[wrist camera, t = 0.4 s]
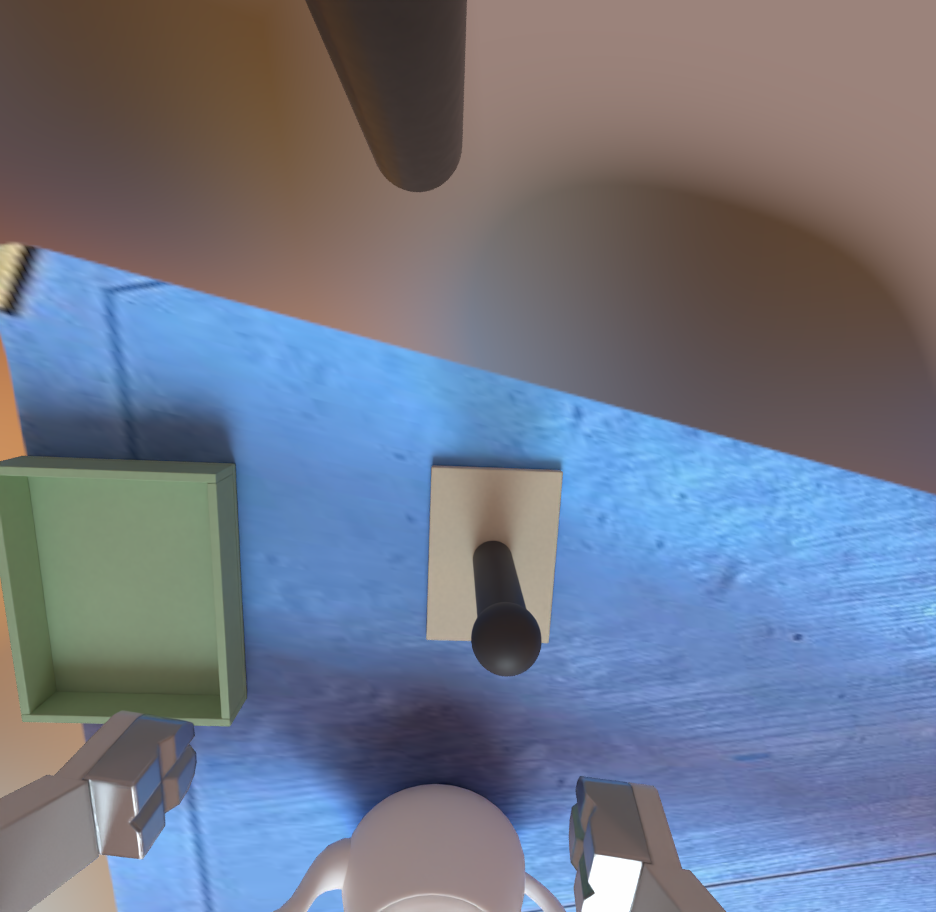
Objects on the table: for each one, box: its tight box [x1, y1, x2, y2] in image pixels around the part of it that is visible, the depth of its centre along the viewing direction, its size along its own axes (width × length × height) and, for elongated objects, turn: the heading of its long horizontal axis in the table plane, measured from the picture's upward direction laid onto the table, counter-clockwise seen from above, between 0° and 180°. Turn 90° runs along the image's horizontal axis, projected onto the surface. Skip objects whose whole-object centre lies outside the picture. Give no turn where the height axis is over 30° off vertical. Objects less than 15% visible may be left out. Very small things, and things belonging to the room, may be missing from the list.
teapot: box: [273, 784, 566, 912], centre depth 37 cm, size 22×14×11 cm, turn 76°
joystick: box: [426, 465, 563, 676], centre depth 31 cm, size 13×9×13 cm
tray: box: [0, 456, 247, 726], centre depth 35 cm, size 18×14×3 cm
